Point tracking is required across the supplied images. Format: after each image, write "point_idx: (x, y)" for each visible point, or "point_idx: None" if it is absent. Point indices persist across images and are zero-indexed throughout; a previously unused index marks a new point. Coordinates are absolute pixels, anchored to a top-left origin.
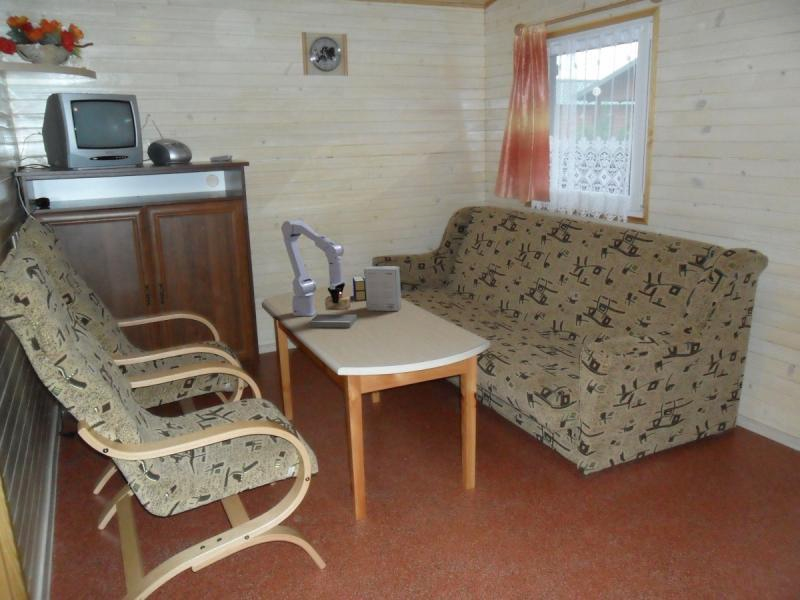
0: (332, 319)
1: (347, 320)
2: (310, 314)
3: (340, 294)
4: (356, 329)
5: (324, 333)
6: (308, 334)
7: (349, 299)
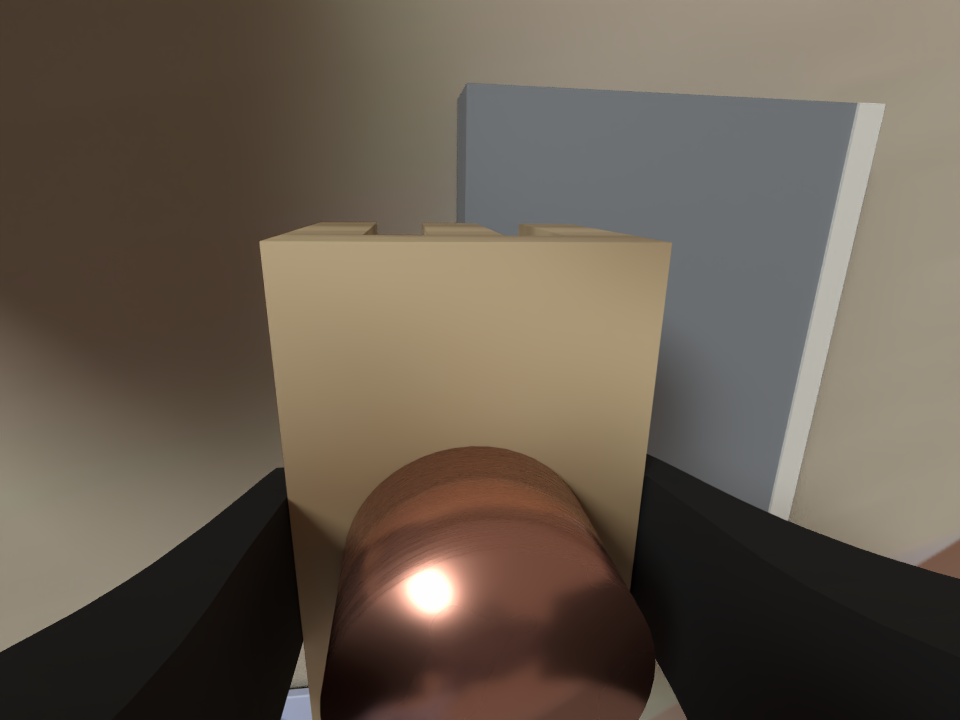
0: (709, 395)
1: (786, 166)
2: (307, 716)
3: (565, 526)
4: (897, 8)
5: (952, 372)
6: (942, 508)
7: (346, 235)
